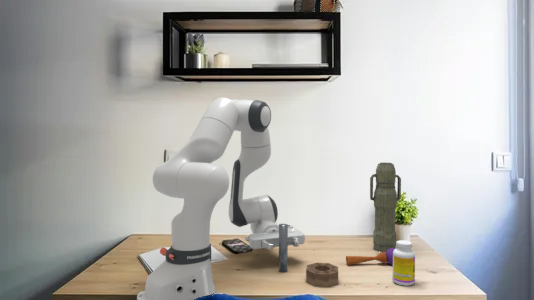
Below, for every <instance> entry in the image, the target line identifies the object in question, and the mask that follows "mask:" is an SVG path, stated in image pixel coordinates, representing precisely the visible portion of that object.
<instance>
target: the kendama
mask: <svg viewBox="0 0 534 300" xmlns="http://www.w3.org/2000/svg"><path fill="white" fill-rule="evenodd" d="M396 248H397V247H396ZM396 248H390V249H388V250H387V251H386V253H385V252H380V253H378V254H376V255H375V256H362V255H361V256H360V255H358V256H356V255H346V256H345V263H346V265H347V266H353V265H356V264H361V263H367V262H372V261H377V262H380V263H383V264H387V263H388V264H389V265H392V266H393V251H394V250H395V249H396Z"/></svg>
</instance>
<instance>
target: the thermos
mask: <svg viewBox="0 0 534 300" xmlns="http://www.w3.org/2000/svg"><path fill="white" fill-rule="evenodd" d="M374 178H375V189H374ZM396 178H397V190H396ZM401 190H402V178H401V177H400V176H399V174H397V173H396V167H395V165H394V163H393V162H379V163H378V164H377V166H376V169H375V173H374V174H372V175H371V176H370V177H369V199H370V201H373V206H374V230H373V236H372V237H373V238H372V239H373V240H372V241H373V242H372V243H373V250H374V251H376V252H379V251H380V253H382V252H386V251H387V250H388V249H390V248H397V246H396V242H397V232H396V209H397V206H398V204H397V203H398V201H400V200H401V197H402V195H401V194H402V191H401Z"/></svg>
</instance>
